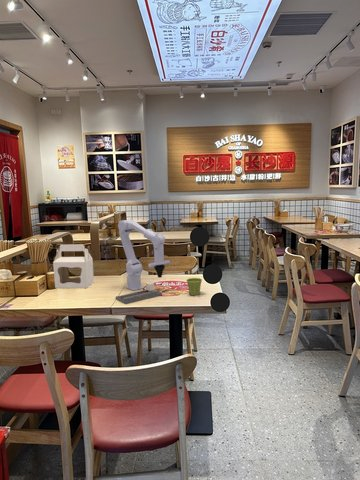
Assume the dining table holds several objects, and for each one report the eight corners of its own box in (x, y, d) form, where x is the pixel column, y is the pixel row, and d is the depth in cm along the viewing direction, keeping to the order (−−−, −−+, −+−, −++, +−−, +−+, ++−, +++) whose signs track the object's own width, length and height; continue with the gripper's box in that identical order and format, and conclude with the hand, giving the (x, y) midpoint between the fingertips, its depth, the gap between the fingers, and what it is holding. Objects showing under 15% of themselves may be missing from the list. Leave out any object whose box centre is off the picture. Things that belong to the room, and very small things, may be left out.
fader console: (115, 299, 195) (115, 295, 194) (150, 291, 209) (150, 287, 209) (125, 304, 185) (125, 299, 185) (161, 295, 199) (161, 291, 199)
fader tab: (146, 291, 202) (146, 283, 202) (150, 290, 204) (150, 282, 203) (150, 292, 199) (149, 284, 198) (154, 291, 201) (154, 283, 200)
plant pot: (188, 297, 195) (188, 282, 194) (185, 292, 204) (184, 278, 203) (204, 295, 197) (203, 281, 195) (200, 291, 206) (199, 277, 205)
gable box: (94, 282, 232) (91, 242, 228) (87, 288, 219) (84, 245, 215) (63, 282, 234) (60, 243, 230) (54, 288, 221) (51, 246, 217)
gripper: (152, 257, 195) (153, 280, 197) (172, 254, 204) (173, 276, 206) (145, 256, 201) (146, 278, 203) (165, 252, 210) (166, 274, 211)
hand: (159, 277), depth 205 cm, fingers closed
